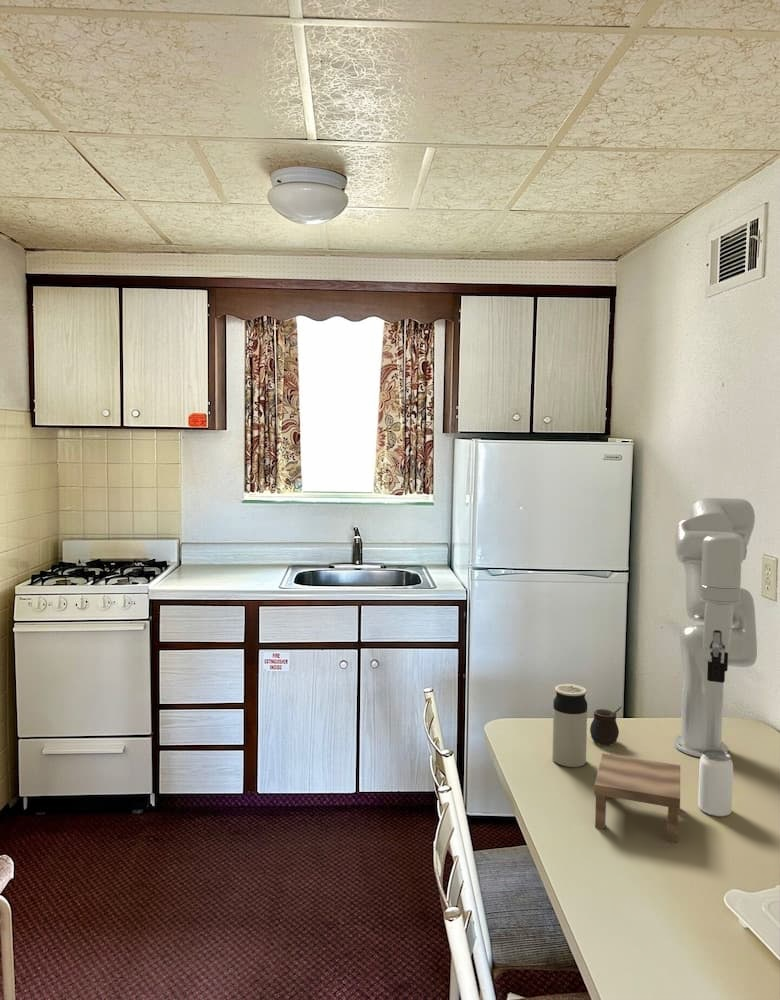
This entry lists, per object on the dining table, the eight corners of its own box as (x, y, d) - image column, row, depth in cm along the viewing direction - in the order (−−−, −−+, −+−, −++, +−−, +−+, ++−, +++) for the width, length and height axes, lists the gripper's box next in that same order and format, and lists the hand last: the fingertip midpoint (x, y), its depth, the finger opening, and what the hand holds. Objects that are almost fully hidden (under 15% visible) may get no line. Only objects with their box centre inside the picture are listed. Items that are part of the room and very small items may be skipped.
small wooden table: (601, 792, 163) (602, 753, 163) (678, 805, 157) (680, 765, 157) (593, 827, 148) (594, 784, 148) (678, 843, 143) (680, 798, 142)
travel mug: (580, 771, 174) (581, 696, 173) (547, 763, 178) (549, 690, 177) (590, 758, 181) (591, 687, 179) (558, 751, 185) (560, 681, 184)
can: (734, 819, 152) (737, 762, 151) (701, 815, 153) (703, 760, 152) (727, 804, 158) (729, 749, 157) (695, 801, 160) (697, 747, 159)
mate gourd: (587, 735, 195) (589, 699, 194) (617, 737, 194) (618, 700, 193) (591, 746, 188) (592, 708, 187) (621, 749, 187) (623, 710, 186)
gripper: (704, 587, 163) (701, 664, 164) (696, 599, 148) (694, 683, 149) (741, 590, 160) (739, 668, 160) (738, 602, 144) (735, 689, 145)
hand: (717, 675), depth 154 cm, fingers open, 9 cm apart
